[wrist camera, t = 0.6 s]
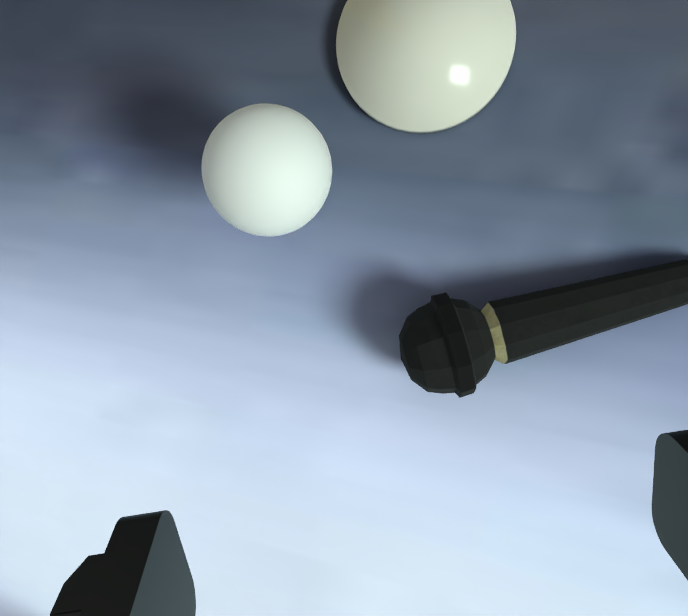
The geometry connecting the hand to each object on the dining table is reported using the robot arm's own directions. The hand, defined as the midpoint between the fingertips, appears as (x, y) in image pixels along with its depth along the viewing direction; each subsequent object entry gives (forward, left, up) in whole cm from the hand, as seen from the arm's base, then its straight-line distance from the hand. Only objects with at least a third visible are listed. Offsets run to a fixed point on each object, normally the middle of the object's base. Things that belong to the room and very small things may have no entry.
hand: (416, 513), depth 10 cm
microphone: (-7, +2, -27) cm, 28 cm away
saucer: (-7, -15, -26) cm, 31 cm away
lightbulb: (+3, -11, -27) cm, 29 cm away
